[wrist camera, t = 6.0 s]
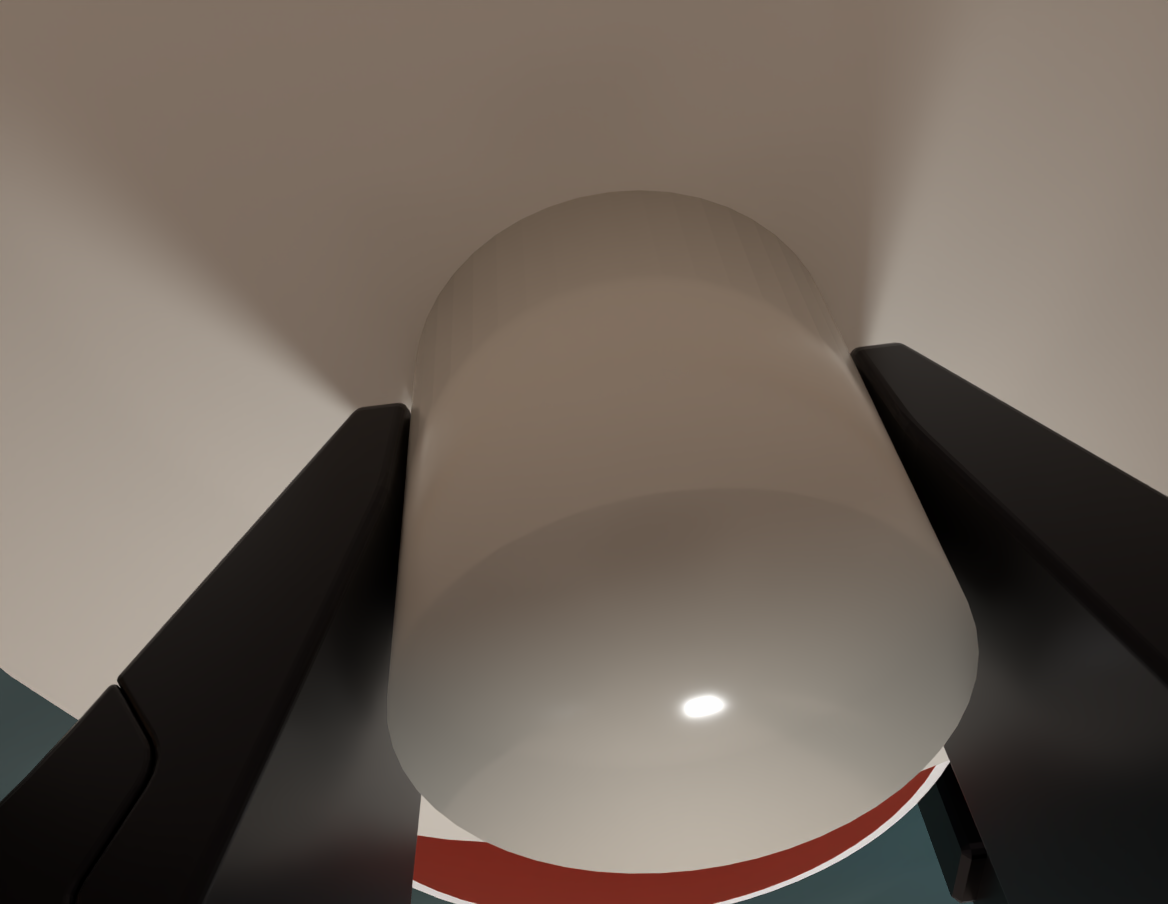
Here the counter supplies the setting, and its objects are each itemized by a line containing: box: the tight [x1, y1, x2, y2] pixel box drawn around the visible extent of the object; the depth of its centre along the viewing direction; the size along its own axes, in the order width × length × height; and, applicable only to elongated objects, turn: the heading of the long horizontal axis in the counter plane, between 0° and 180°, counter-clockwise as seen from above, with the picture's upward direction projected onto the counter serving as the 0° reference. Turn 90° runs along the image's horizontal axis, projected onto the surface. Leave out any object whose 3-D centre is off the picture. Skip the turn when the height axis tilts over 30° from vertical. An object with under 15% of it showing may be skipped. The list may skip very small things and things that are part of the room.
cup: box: [412, 760, 950, 904], centre depth 20 cm, size 10×10×10 cm
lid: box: [0, 0, 1168, 873], centre depth 8 cm, size 14×14×4 cm
